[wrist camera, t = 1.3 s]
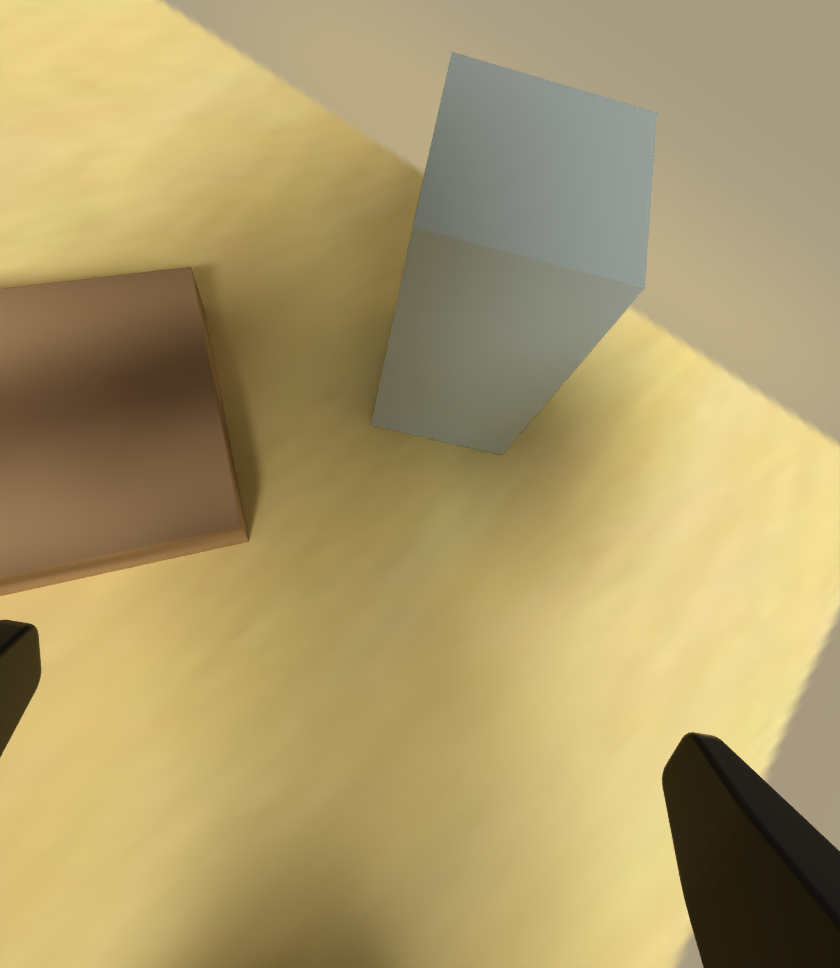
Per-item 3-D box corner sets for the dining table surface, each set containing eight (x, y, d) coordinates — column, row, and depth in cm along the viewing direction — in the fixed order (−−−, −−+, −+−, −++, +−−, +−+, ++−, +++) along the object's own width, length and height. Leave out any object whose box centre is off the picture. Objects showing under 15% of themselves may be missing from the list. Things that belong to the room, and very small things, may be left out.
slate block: (501, 455, 25) (644, 288, 14) (370, 425, 24) (412, 226, 13) (518, 340, 26) (656, 112, 16) (396, 310, 26) (451, 51, 15)
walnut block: (250, 544, 23) (240, 525, 20) (-52, 610, 20) (-112, 600, 17) (205, 312, 25) (191, 266, 22) (-69, 348, 23) (-124, 303, 20)
